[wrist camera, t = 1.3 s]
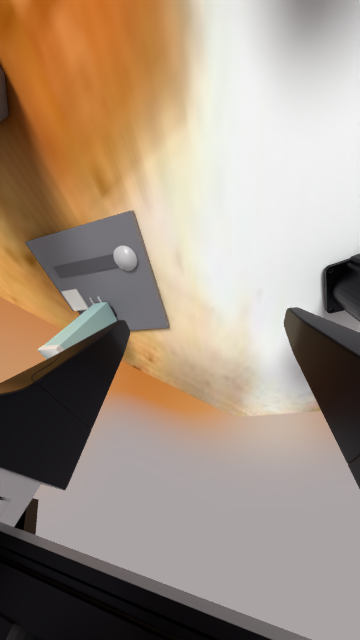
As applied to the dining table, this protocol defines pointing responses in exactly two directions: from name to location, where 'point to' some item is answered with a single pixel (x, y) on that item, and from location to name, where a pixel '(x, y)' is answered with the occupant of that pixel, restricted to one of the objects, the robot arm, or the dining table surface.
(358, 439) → the robot arm
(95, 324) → the fader tab
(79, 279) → the console panel
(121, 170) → the dining table surface
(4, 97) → the liquor
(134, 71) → the dining table surface
